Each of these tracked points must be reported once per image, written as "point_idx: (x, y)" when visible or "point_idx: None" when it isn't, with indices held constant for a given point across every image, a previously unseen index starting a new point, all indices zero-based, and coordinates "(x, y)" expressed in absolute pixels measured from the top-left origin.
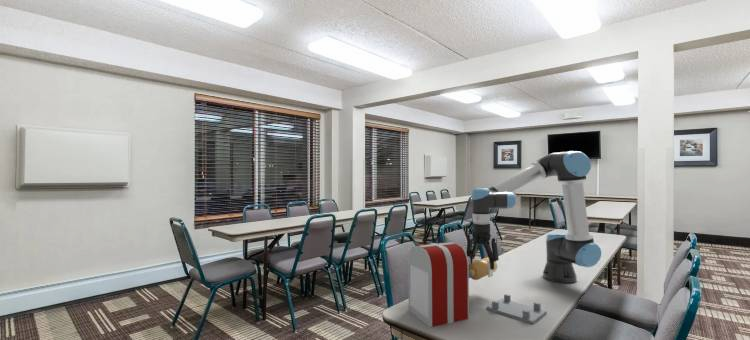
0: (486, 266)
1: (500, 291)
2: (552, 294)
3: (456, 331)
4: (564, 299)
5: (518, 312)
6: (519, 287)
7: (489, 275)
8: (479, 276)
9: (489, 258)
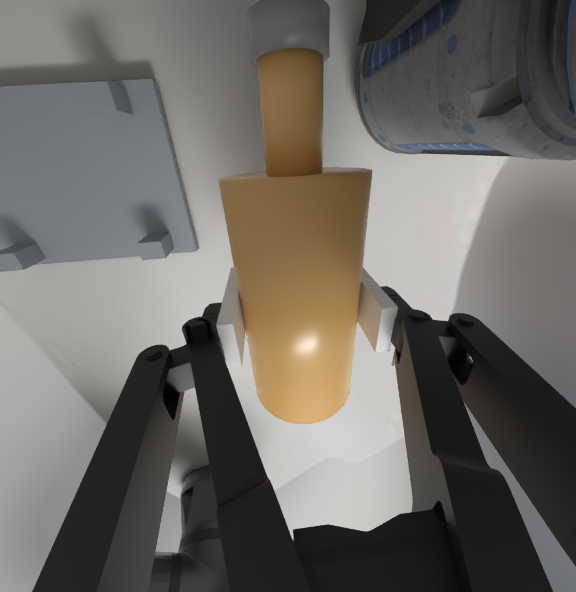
0: (242, 291)
1: None
2: None
3: None
4: (104, 396)
5: (21, 149)
6: (245, 387)
7: (231, 271)
8: (243, 175)
9: (211, 353)
